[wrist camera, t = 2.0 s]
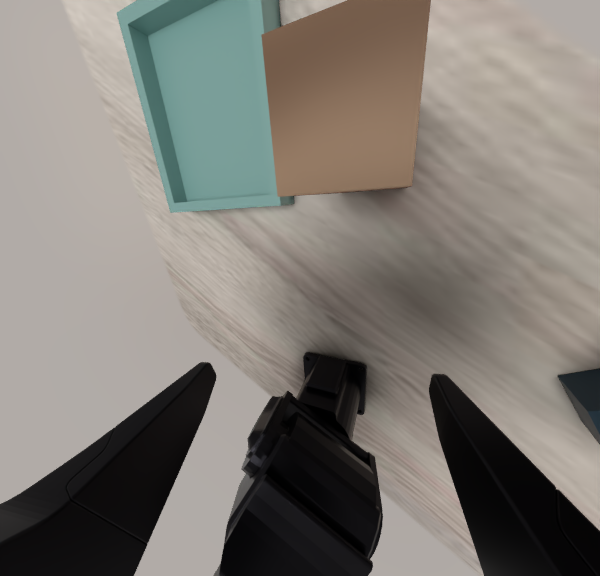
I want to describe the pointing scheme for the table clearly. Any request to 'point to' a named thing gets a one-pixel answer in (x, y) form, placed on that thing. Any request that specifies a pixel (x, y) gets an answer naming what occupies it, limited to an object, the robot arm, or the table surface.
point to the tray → (206, 98)
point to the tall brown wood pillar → (346, 96)
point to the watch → (585, 397)
